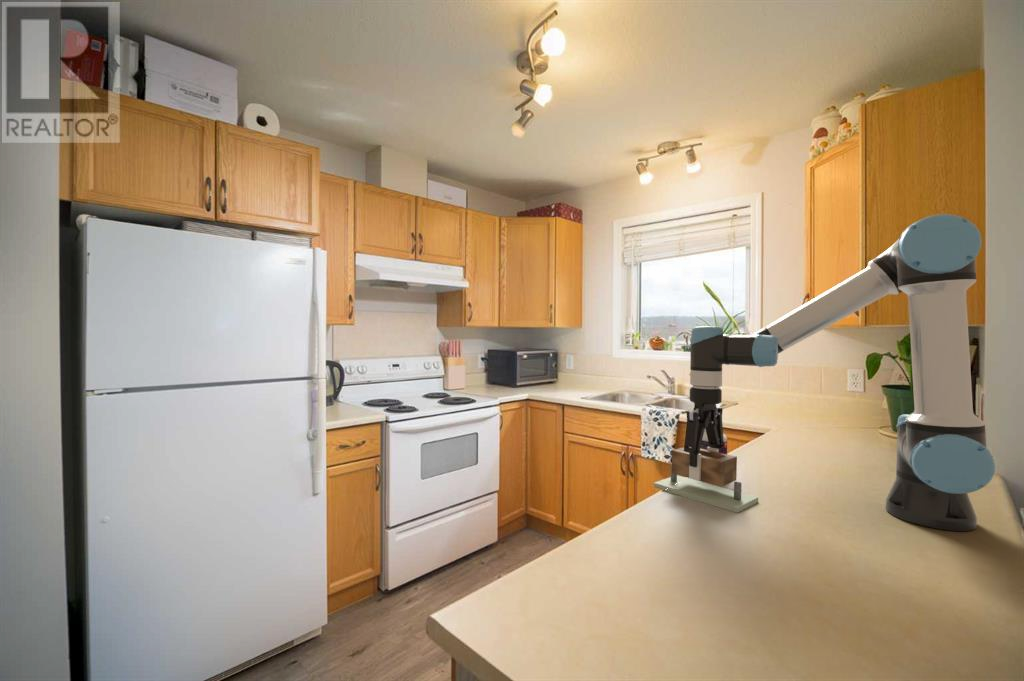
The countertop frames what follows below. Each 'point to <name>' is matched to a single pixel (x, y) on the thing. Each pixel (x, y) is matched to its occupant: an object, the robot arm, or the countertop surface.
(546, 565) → the countertop surface
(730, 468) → the frame
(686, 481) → the green board with pegs
